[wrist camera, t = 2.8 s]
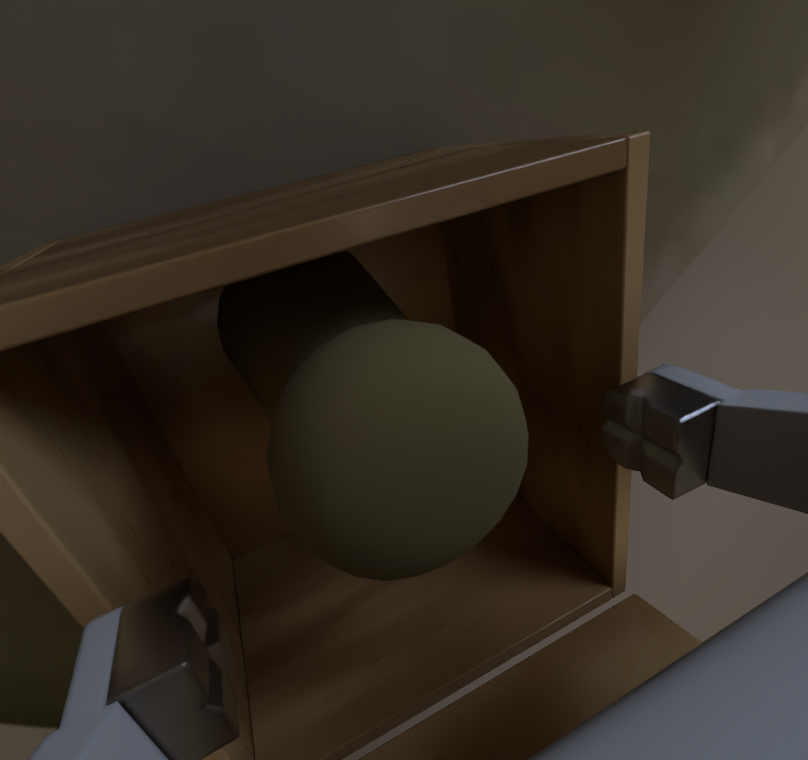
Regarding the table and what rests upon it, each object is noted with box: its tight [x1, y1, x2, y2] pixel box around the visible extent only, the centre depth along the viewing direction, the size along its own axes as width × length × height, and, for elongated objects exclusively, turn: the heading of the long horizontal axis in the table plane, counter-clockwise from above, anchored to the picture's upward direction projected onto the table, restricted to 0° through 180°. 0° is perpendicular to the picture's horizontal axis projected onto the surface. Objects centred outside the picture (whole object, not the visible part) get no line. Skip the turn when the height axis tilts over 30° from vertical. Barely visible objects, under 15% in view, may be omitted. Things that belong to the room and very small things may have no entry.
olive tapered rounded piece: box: [217, 251, 529, 581], centre depth 13 cm, size 6×6×11 cm
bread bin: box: [0, 131, 650, 760], centre depth 15 cm, size 14×13×10 cm
